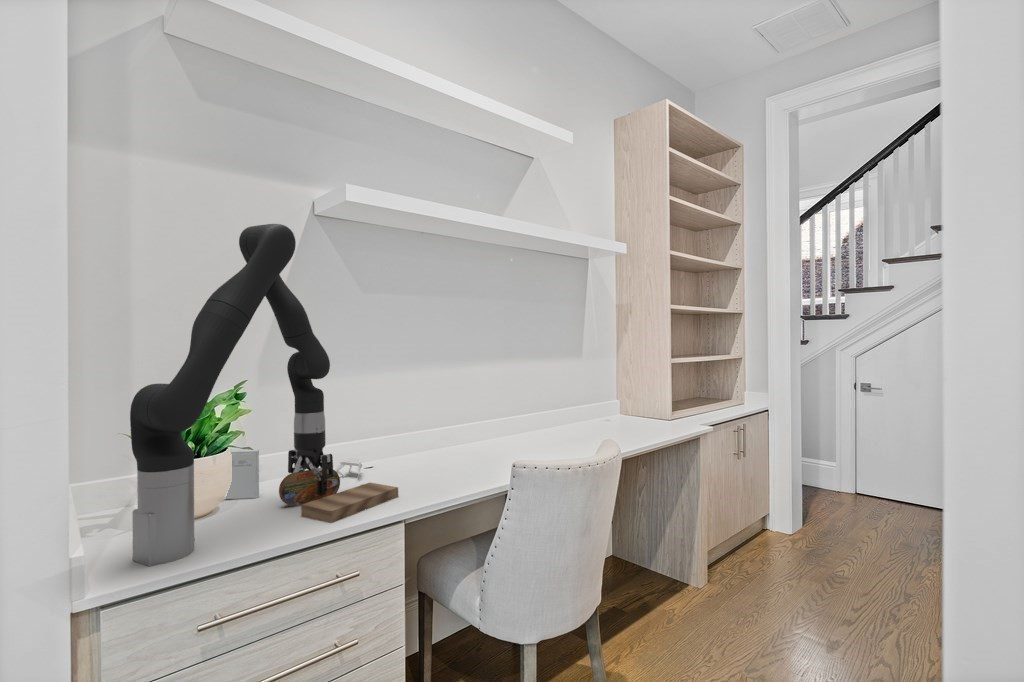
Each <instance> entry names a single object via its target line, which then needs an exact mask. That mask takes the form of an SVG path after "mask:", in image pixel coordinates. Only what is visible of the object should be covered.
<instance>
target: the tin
mask: <svg viewBox="0 0 1024 682" xmlns="http://www.w3.org/2000/svg"><path fill="white" fill-rule="evenodd" d="M328 473H329V470H328V469H327V474H328ZM320 474H321V476H322V473H321V472H320ZM333 475H334V476H333V477H332V478H329V479H327V492H326V494H325V495H322V496H319V495H318V493H317V481H318V479H317V477H316V475H315V474H313V473H312V471H311V470H308V469H305V471H301V472H295V473H289V474H287V475H286V476H285V477H284V478H283V479H282V480H281V481H280V484H279V487H278V496H279V498H280V500H281V501H282V502H283V503H284V504H285V505H287V506H289V507H291V508H295V507H300V506H301V505H302V504H305V503H308V502H311V501H314V500H317V499H321V498H324V497H327V496H330V495H333V494H336V493H338V492H339V489H340V485H341V478H340V474H338V473H337V472H336V471H335V469H333Z"/></svg>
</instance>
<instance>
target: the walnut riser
mask: <svg viewBox="0 0 1024 682" xmlns="http://www.w3.org/2000/svg"><path fill="white" fill-rule="evenodd" d="M398 497H399V487H398V486H393V485H387V484H381V483H375V482H366V483H364V484H360V485H359V486H355V487H352V488H348V489H346V490H343V491H340V492H339V491H338V492H337V493H336V494H333V495H330V496H327V497H324V498H321V499H317V500H314V501H311V502H308V503H305V504H302V505H300V506H301V508H300V510H301V512H300V513H301V515H300V517H302V518H306V519H310V520H315V521H320V522H324V523H329V524H333V523H335V522H337V521H340V520H344V519H345V518H348V517H350V516H353V515H355V514H358V513H361V512H364V511H366V510H368V509H371V508H373V507H376V506H379V505H381V504H384V503H386V502H388V501H391V500H393V499H397V498H398ZM365 509H366V510H365Z"/></svg>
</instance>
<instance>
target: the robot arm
mask: <svg viewBox="0 0 1024 682" xmlns="http://www.w3.org/2000/svg"><path fill="white" fill-rule="evenodd" d="M238 245H239V250H240V252H241V254H242V257H243V259H244V260H245V263H246V264H245V265H244V266H243V267H242V268H241V269H240V270H239V271H238V272H237V273H235V274H234V275H233V276H232V277H230V278H229V279H228V280H226V281H225V282H224V283H223V284H221V285H220V286H219V287H218V288H217V289H216V290H214V292H213V293H211V295H210V296H209V297H208V298H207V300H206V301H205V303H204V305H203V306H202V308H201V309H200V310H199V312H198V314H197V316H196V318H195V320H194V321H193V325H192V328H191V333H190V334H191V335H190V345H189V351H188V354H187V357H186V359H185V361H184V363H183V364H182V366H181V367H180V369H179V371H177V373H176V374H175V376H174V377H173V379H172V380H171V381H170V382H169V383H151V384H148V385H145V386H144V387H142V388H141V389H139V390H138V391H137V392H136V394H135V395H134V397H133V399H132V402H131V404H130V410H129V413H130V414H129V421H130V425H129V426H130V437H131V439H130V440H131V443H130V444H131V450H132V454H133V456H134V458H135V461H136V465H137V466H136V467H137V470H136V471H137V474H136V476H137V477H136V481H137V483H136V484H137V485H136V486H137V492H136V493H137V508H135V509H133V510H132V513H131V515H132V561H134V562H136V563H139V564H142V565H144V566H147V567H153V566H156V565H161V564H167V563H171V562H176V561H179V560H181V559H184V558H187V557H189V556H190V555H191V554H193V553H194V551H195V541H196V539H195V455H194V450H193V448H191V447H190V445H188V444H187V442H186V441H185V440H184V438H183V435H182V432H185V431H188V429H190V428H191V427H193V425H195V424H196V422H197V421H198V420H199V418H200V417H201V415H202V414H203V411H204V409H205V407H206V405H207V403H208V400H209V398H210V396H211V393H212V391H213V389H214V387H215V384H216V382H217V380H218V378H219V376H220V374H221V373H222V371H223V369H224V367H225V365H226V364H227V362H228V360H229V358H230V356H231V354H233V353H232V352H233V351H234V349H235V347H236V345H237V344H238V342H239V341H240V340H241V337H242V336H243V335H244V332H245V331H246V329H248V326H249V324H250V322H251V321H252V318H253V317H254V314H255V313H256V311H257V309H258V308H259V306H260V305H261V303H262V302H263V300H264V299H265V298H266V300H267V302H268V304H269V306H270V308H271V310H272V312H273V315H274V317H275V319H276V322H277V325H278V328H279V330H280V333H281V336H282V338H283V341H284V343H285V345H286V346H288V347H290V348H293V349H295V350H297V351H296V352H294V353H292V354H291V355H290V357H289V358H288V361H287V366H286V368H287V376H288V380H289V383H290V387H291V390H292V392H293V396H294V418H293V448H294V449H290V450H288V451H287V452H288V455H287V456H288V457H287V460H288V461H287V462H288V463H287V472H288V473H289V474H291V473H295V472H301V471H306V470H311V471H312V473H313V474H315V475H316V477H317V479H318V481H317V493H318V495H319V496H322V495H325V494H326V492H327V479H329V478H332V477H333V476H334V475H333V470H334V462H333V461H334V460H333V458H334V457H333V454H332V453H328V454H325V453H324V451H323V449H324V448H325V447H326V416H325V396H324V392H323V390H322V389H320V388H318V387H316V386H314V384H313V381H312V380H321V379H324V378H325V377H327V375H328V374H329V372H330V369H331V363H330V361H331V360H330V357H329V355H328V353H327V352H326V349H325V348H324V346H323V345H322V344H321V342H320V340H319V339H318V338H317V337H316V335H315V334H314V332H313V329H312V325H311V322H310V320H309V317H308V314H307V312H306V310H305V308H304V306H303V304H302V303H301V301H300V300H299V299H298V298H297V296H296V295H295V294H294V293H293V291H291V290H290V289H289V287H288V286H287V284H286V282H285V281H284V280H283V278H282V276H281V273H282V272H283V271H284V269H285V268H286V267H287V266H288V264H289V262H290V261H291V259H292V258H293V256H294V254H295V250H296V237H295V235H294V232H293V231H292V229H291V228H289V227H288V226H287V225H284V224H280V223H267V224H259V225H253V226H248V227H246V228H244V229H243V230H242V231H241V233H240V235H239V239H238ZM293 466H294V467H293ZM327 469H328V470H329V473H328V474H327ZM320 472H321V473H322V476H321V474H320Z"/></svg>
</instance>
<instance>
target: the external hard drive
mask: <svg viewBox="0 0 1024 682" xmlns="http://www.w3.org/2000/svg"><path fill="white" fill-rule="evenodd" d="M229 451H230V452H231V454H232V482H231V485H230V488H229V490H228V493H227V496H226V499H225V500H235V499H236V500H239V499H258V498H259V497H260V467H259V466H260V463H259V462H260V450H259V449H246V450H245V449H242V450H241V449H240V450H239V449H238V450H237V449H236V450H235V449H234V450H229Z"/></svg>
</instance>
